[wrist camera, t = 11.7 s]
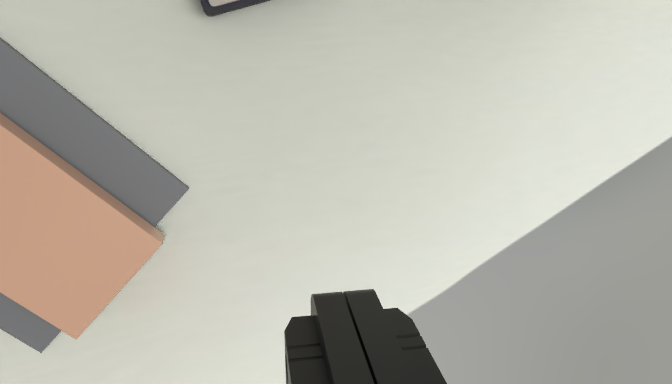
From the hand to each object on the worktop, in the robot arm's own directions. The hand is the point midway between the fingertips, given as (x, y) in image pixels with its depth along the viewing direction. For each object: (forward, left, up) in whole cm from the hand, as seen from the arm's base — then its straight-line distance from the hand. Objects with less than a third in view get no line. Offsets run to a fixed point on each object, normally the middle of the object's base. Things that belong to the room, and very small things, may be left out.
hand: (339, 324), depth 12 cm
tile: (+10, +12, -29) cm, 33 cm away
